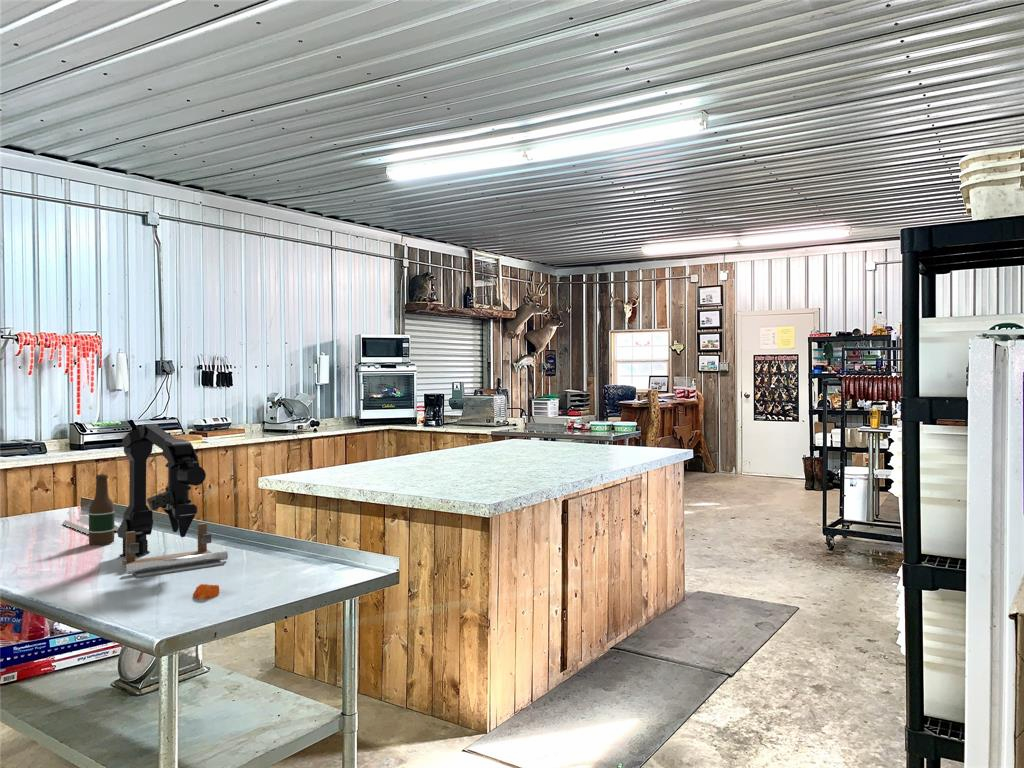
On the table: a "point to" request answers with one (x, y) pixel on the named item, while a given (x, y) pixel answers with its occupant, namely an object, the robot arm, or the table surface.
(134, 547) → the hook stand
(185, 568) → the rubber mat
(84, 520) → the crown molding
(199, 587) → the rock
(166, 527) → the table surface
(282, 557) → the table surface
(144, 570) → the steel rail
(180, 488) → the robot arm
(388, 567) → the table surface
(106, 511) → the beer bottle
